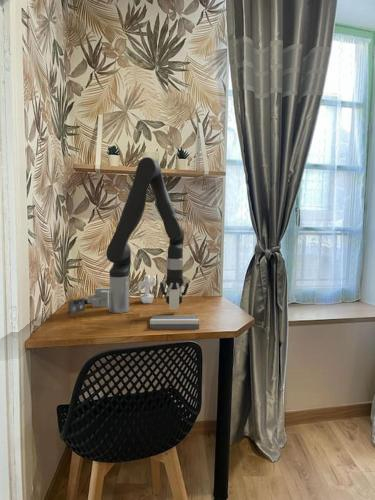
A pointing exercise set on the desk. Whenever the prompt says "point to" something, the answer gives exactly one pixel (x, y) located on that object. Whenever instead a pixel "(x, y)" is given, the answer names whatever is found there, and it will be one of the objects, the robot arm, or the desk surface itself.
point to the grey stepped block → (99, 297)
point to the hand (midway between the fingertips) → (173, 303)
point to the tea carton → (174, 299)
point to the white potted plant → (147, 289)
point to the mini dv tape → (76, 306)
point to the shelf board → (174, 322)
